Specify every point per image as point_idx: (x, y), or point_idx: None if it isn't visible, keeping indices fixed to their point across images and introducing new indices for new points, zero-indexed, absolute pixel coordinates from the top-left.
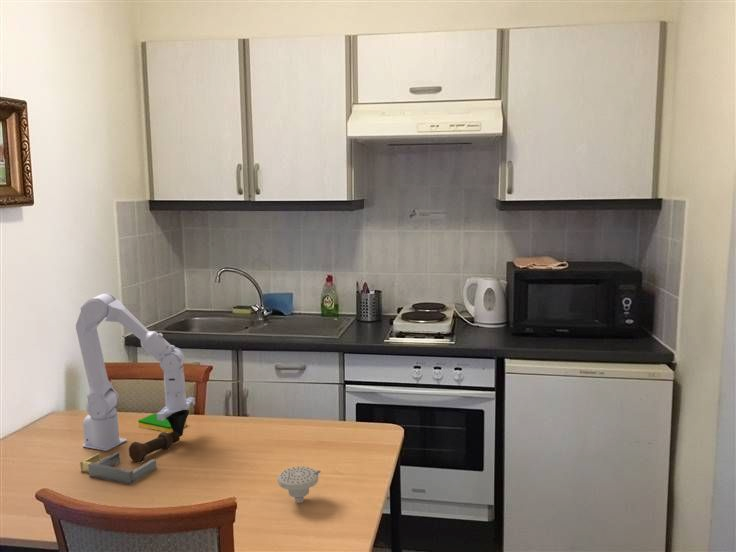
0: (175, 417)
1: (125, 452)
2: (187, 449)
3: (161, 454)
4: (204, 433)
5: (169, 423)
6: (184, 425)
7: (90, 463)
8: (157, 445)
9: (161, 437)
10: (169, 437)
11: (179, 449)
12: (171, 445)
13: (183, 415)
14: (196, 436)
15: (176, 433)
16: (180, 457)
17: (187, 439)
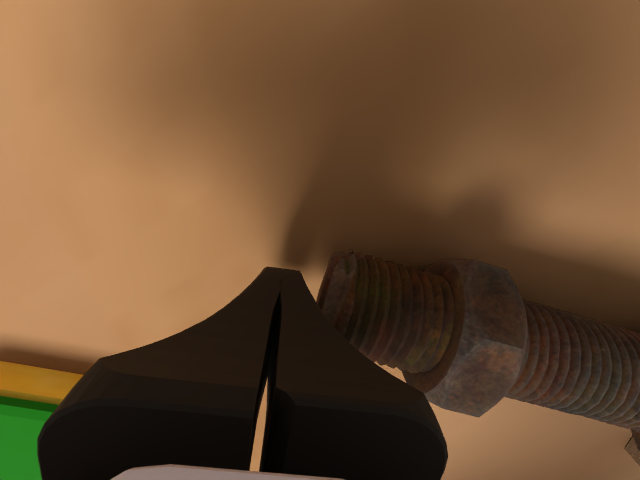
0: (429, 467)
1: (500, 468)
2: (446, 107)
3: (543, 266)
4: (67, 135)
5: None
6: (17, 371)
7: None
8: (597, 329)
9: (524, 367)
10: (491, 307)
11: (448, 180)
12: (442, 261)
13: (308, 390)
14: (157, 176)
15: (364, 298)
16: (621, 79)
17: (240, 220)
